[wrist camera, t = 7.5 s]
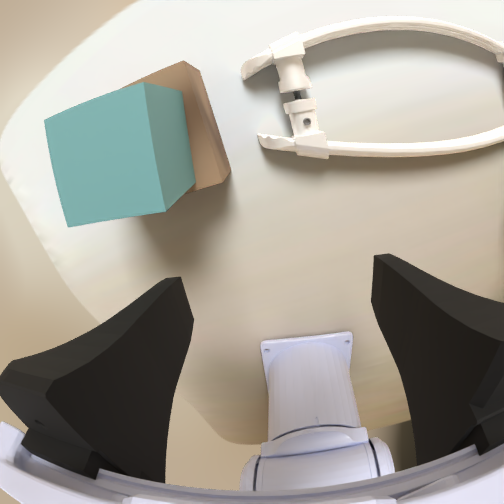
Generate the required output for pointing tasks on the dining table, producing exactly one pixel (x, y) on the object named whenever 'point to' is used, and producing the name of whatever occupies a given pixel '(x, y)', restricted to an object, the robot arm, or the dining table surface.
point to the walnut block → (196, 123)
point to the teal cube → (121, 154)
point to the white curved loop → (303, 110)
